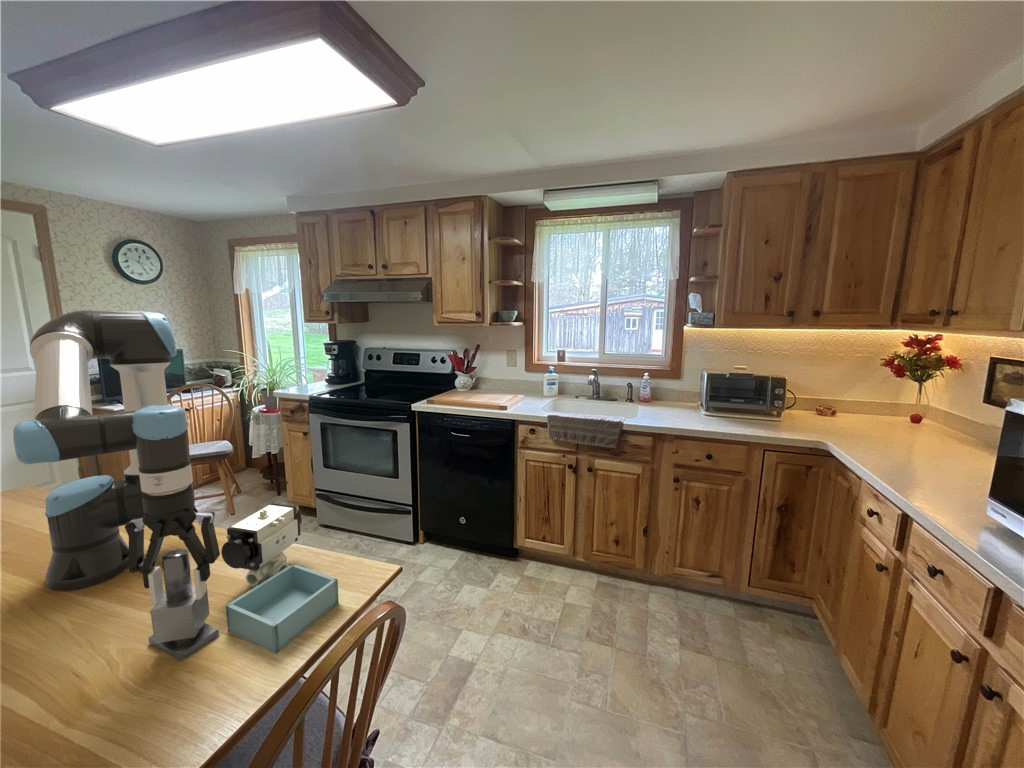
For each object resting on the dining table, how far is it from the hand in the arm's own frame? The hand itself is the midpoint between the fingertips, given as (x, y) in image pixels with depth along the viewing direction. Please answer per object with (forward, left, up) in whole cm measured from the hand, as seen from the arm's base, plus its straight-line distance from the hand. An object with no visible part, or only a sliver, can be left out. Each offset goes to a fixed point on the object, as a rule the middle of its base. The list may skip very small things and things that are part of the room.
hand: (179, 597), depth 81 cm
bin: (+13, +13, -9) cm, 20 cm away
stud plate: (0, 0, -9) cm, 9 cm away
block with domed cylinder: (0, 0, -7) cm, 7 cm away
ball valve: (-3, +21, -10) cm, 23 cm away
